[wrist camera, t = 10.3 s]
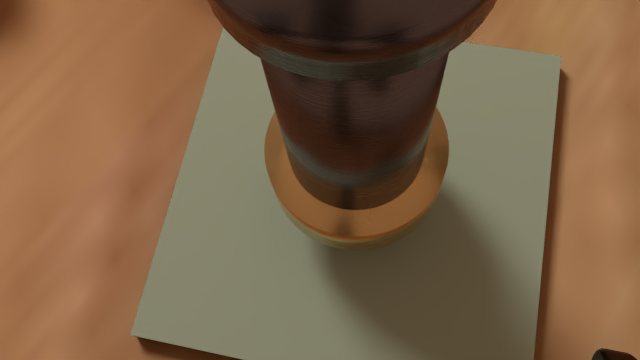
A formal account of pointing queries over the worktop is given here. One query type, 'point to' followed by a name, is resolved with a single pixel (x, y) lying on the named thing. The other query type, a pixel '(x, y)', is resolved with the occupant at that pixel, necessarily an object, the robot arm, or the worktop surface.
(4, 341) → the worktop surface
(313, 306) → the mat
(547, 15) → the worktop surface
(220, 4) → the dark brown cylinder
